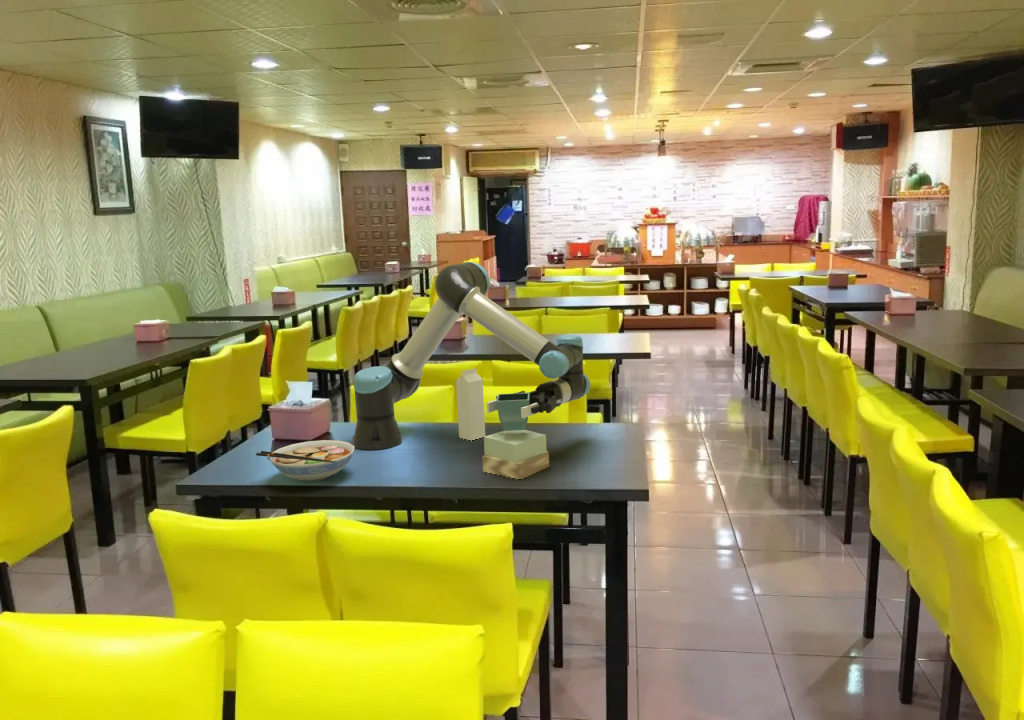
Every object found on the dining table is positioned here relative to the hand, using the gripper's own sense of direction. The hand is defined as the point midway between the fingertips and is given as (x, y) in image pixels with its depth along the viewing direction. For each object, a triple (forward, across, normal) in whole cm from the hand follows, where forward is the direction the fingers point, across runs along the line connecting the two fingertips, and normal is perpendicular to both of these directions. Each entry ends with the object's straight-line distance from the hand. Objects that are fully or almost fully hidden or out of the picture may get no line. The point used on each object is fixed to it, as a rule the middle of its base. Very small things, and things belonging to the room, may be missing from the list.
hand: (504, 410), depth 208 cm
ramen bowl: (+31, +43, -18) cm, 56 cm away
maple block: (-4, 0, -18) cm, 18 cm away
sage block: (-4, 0, -13) cm, 14 cm away
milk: (-21, +31, -18) cm, 41 cm away
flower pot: (-4, 0, -6) cm, 7 cm away
